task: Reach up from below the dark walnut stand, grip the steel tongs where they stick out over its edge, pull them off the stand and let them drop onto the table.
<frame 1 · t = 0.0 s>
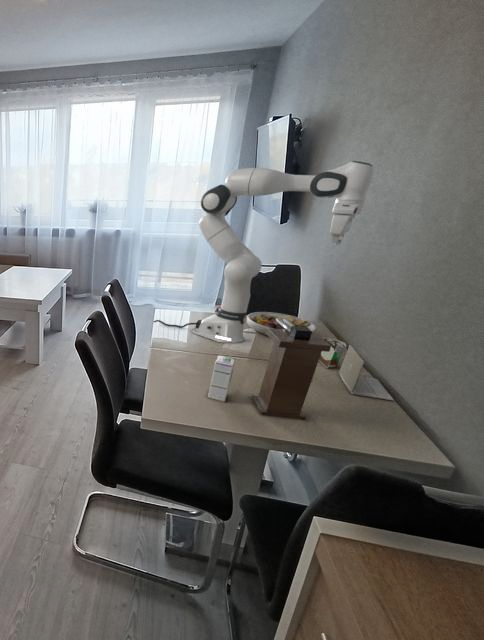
hand: (335, 245, 162), 48 cm above the table, tool pointing down, fingers open, 8 cm apart
stand: (275, 407, 141), on the table
tongs: (290, 329, 136), point 26 cm above the table, touching stand
food container: (329, 364, 174), on the table
bowl: (277, 330, 211), on the table
syrup box: (216, 396, 147), on the table
laptop: (363, 387, 156), on the table
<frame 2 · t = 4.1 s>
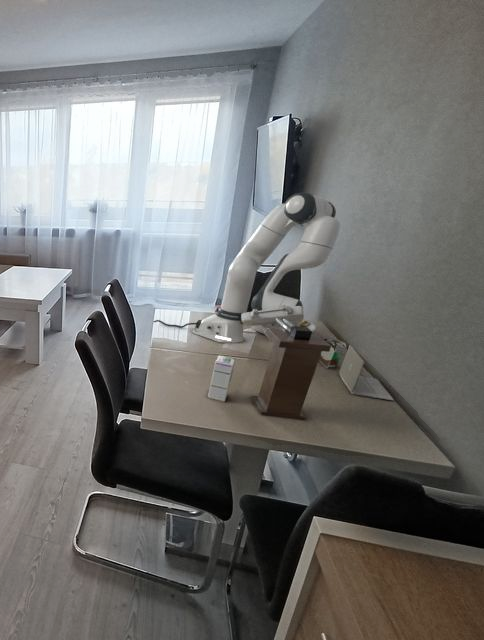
hand: (269, 309, 152), 27 cm above the table, tool pointing upward, fingers open, 8 cm apart
nothing on the table moved.
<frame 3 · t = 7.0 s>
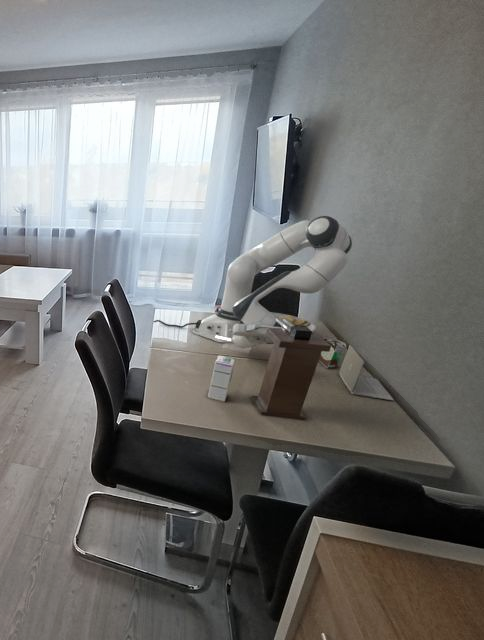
hand: (270, 328, 152), 21 cm above the table, tool pointing upward, fingers open, 8 cm apart
nothing on the table moved.
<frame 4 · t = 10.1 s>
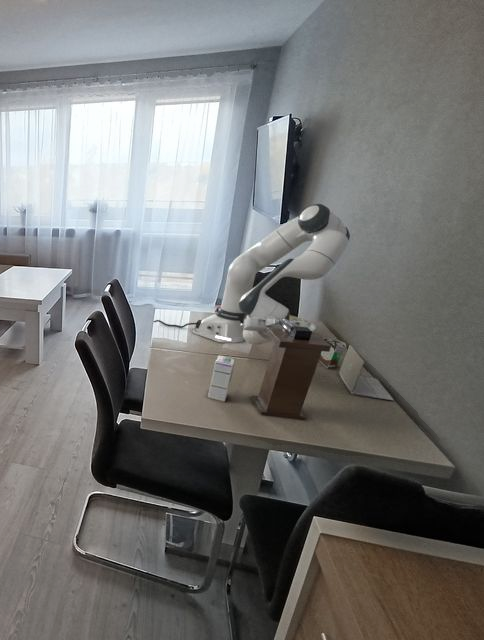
hand: (285, 321, 140), 27 cm above the table, tool pointing upward, fingers closed on tongs, 3 cm apart
tongs: (290, 329, 136), point 26 cm above the table, touching gripper, stand
everything else where it was.
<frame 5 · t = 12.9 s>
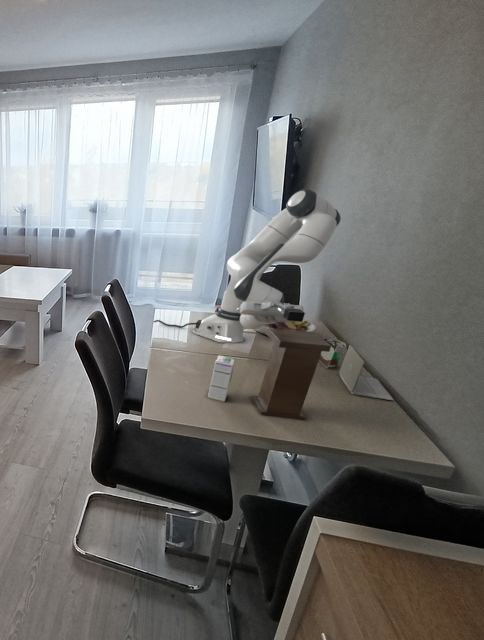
hand: (279, 305, 145), 31 cm above the table, tool pointing upward, fingers closed on tongs, 3 cm apart
tongs: (284, 312, 141), point 30 cm above the table, touching gripper
everything else where it was.
when the fingers open (27 cm above the table, at t = 16.0 s): tongs drops 26 cm, on the table.
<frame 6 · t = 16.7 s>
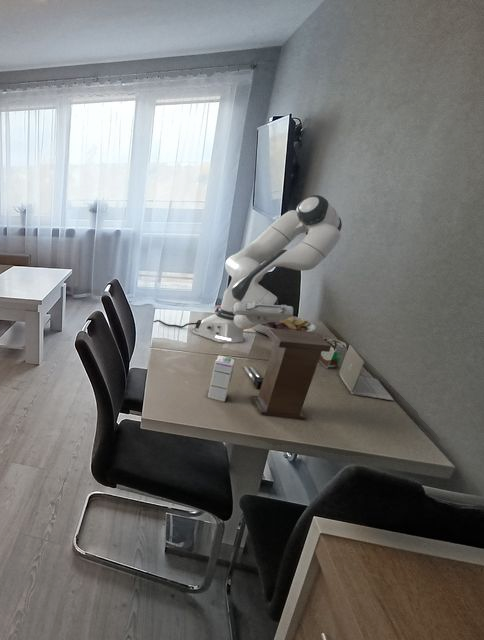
hand: (270, 305, 152), 28 cm above the table, tool pointing upward, fingers open, 8 cm apart
tongs: (255, 378, 160), on the table
everything else where it was.
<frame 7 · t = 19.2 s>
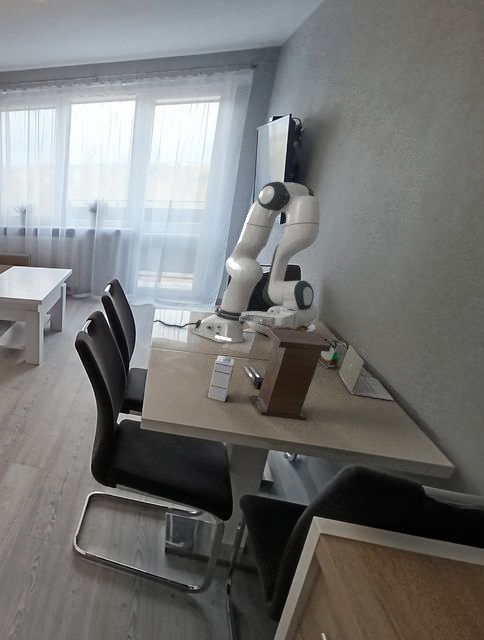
hand: (249, 320, 159), 21 cm above the table, tool horizontal, fingers open, 8 cm apart
nothing on the table moved.
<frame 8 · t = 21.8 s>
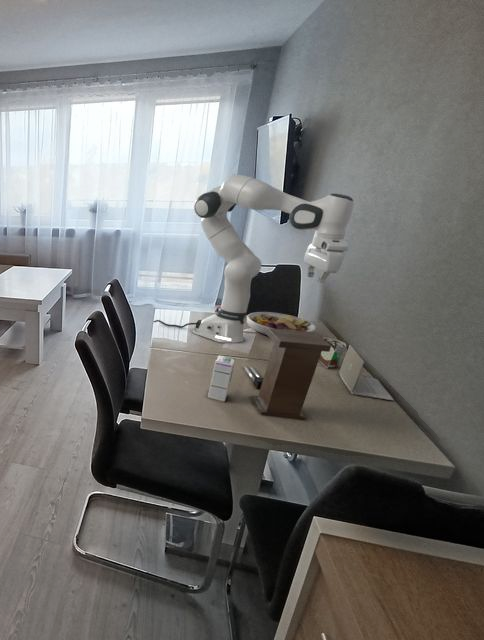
hand: (315, 279, 155), 37 cm above the table, tool pointing down, fingers open, 8 cm apart
nothing on the table moved.
at the end: tongs on the table; tongs moved 30.4 cm from its start; the gripper is holding nothing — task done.
